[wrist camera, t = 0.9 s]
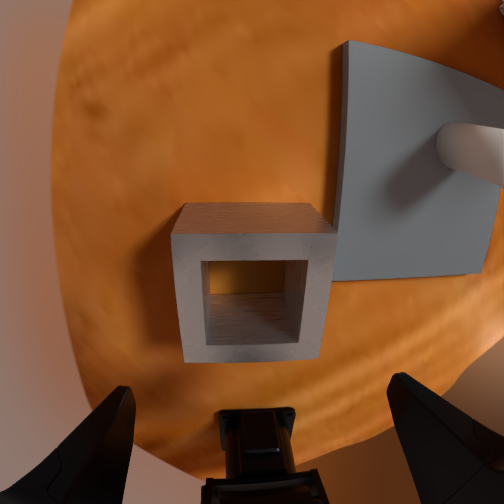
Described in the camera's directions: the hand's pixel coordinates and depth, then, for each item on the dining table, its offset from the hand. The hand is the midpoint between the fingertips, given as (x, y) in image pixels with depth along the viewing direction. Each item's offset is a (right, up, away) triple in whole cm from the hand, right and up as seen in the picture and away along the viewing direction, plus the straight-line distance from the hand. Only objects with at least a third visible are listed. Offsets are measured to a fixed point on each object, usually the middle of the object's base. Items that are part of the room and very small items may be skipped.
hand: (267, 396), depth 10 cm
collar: (-1, +4, +9) cm, 10 cm away
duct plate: (+11, +10, +8) cm, 17 cm away
